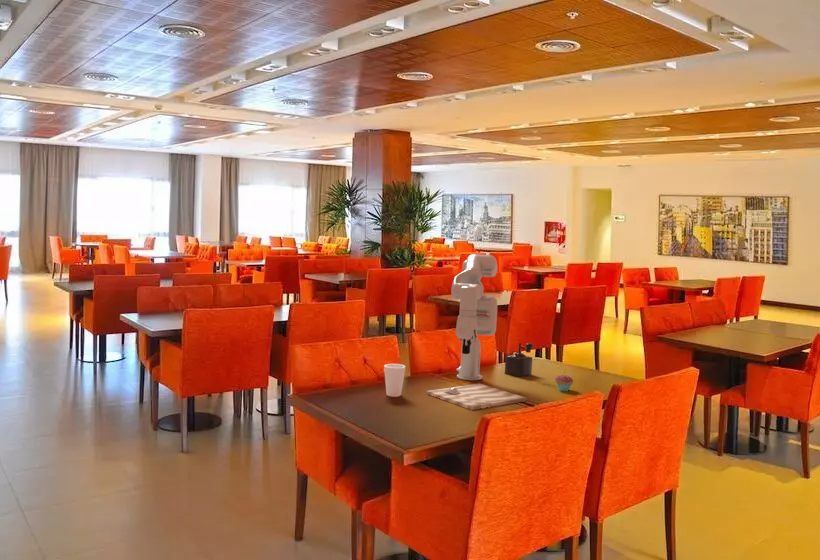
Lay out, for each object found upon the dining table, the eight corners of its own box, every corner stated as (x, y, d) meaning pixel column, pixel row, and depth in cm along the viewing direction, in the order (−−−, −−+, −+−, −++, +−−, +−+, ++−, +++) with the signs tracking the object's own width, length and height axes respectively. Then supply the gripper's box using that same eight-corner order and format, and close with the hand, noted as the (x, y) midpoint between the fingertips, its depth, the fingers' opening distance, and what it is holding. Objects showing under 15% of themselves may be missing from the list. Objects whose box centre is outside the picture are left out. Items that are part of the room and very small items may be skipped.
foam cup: (393, 398, 306) (395, 369, 305) (378, 394, 312) (379, 365, 311) (408, 395, 313) (409, 366, 312) (393, 391, 319) (394, 362, 318)
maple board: (426, 394, 316) (427, 390, 316) (479, 386, 335) (479, 383, 335) (471, 410, 292) (472, 406, 292) (525, 400, 312) (526, 397, 312)
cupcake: (572, 392, 331) (574, 367, 330) (554, 391, 332) (555, 366, 331) (572, 388, 339) (573, 364, 338) (554, 387, 341) (555, 362, 340)
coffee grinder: (503, 373, 367) (505, 339, 365) (515, 371, 375) (517, 337, 373) (528, 379, 356) (530, 344, 355) (540, 376, 364) (542, 341, 363)
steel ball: (449, 397, 315) (445, 390, 313) (455, 391, 317) (452, 384, 315) (454, 399, 312) (451, 393, 310) (461, 394, 314) (457, 387, 312)
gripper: (450, 311, 320) (449, 351, 323) (472, 316, 308) (470, 357, 311) (463, 310, 325) (461, 349, 327) (485, 315, 313) (483, 356, 315)
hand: (465, 353), depth 319 cm, fingers closed
